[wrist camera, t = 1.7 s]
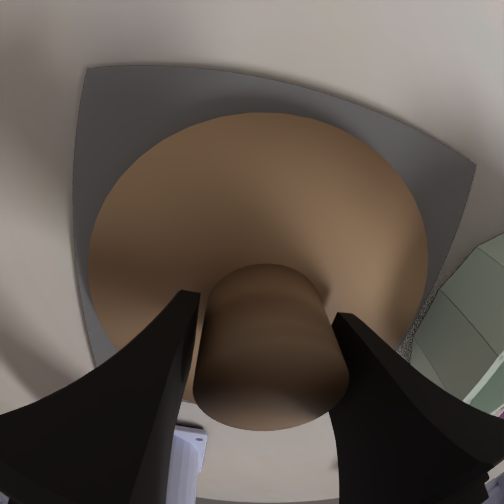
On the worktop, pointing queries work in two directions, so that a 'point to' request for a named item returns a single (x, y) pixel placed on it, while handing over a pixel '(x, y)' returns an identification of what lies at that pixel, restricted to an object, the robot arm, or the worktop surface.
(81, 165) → the mat
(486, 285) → the bowl
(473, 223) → the worktop surface
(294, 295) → the lid
